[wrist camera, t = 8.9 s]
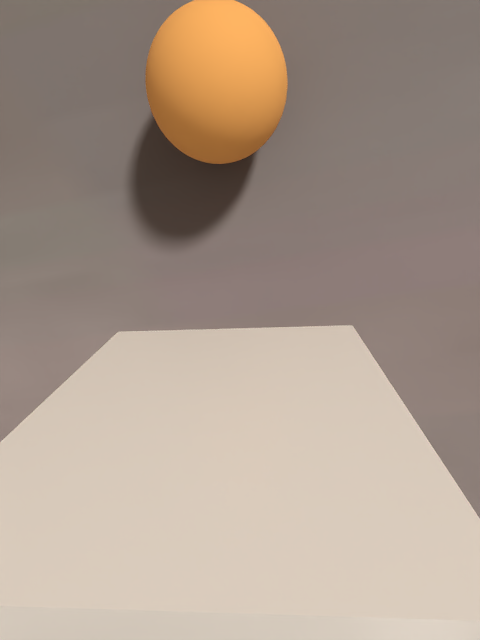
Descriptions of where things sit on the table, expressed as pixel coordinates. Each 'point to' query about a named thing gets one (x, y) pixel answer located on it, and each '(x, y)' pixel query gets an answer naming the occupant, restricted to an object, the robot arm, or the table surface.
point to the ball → (216, 80)
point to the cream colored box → (232, 498)
